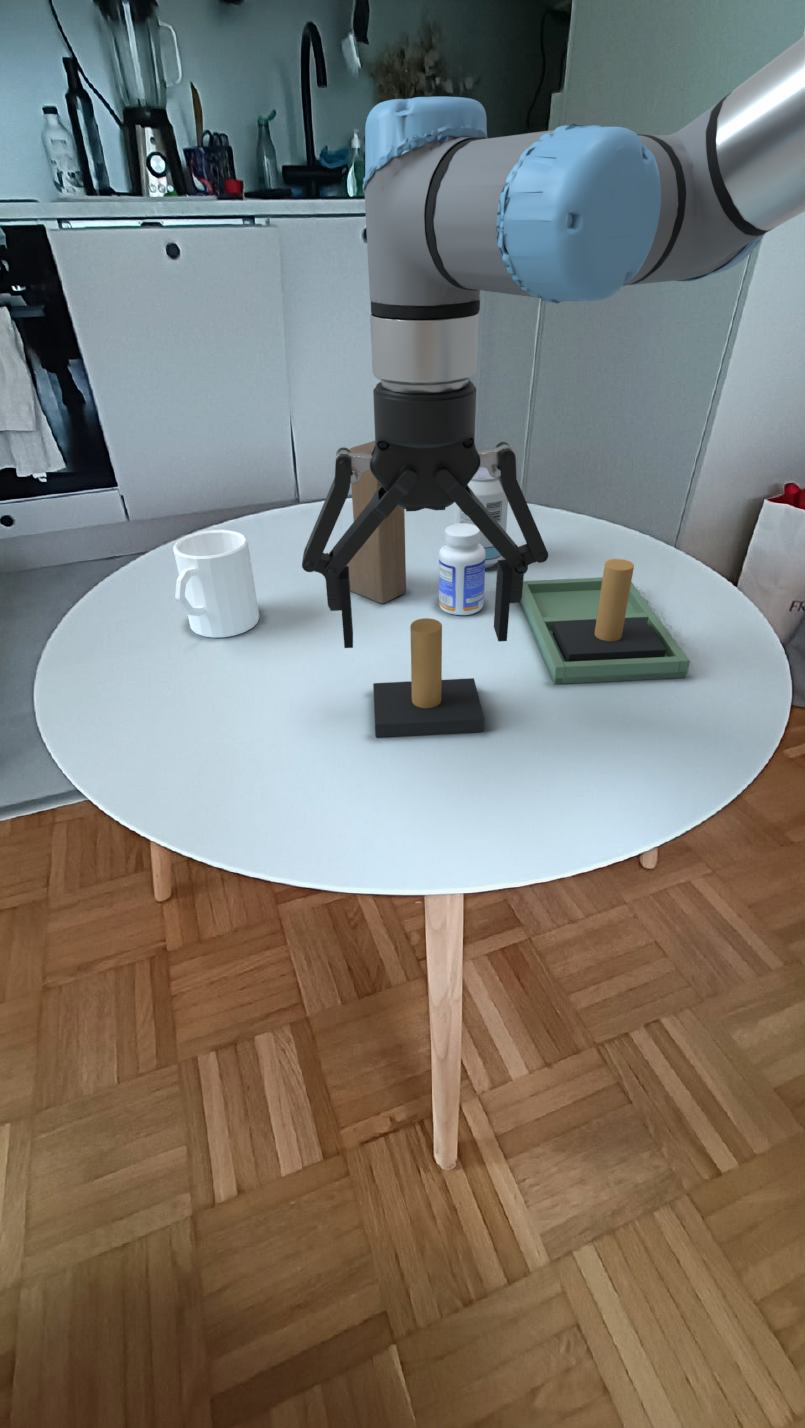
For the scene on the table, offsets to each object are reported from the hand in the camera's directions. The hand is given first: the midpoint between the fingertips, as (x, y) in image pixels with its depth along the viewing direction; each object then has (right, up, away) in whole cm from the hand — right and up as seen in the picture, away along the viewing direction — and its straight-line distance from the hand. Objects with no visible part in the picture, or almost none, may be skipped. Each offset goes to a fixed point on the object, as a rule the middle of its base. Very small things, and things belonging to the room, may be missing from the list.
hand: (424, 637), depth 64 cm
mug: (-24, +3, +19) cm, 31 cm away
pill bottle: (+5, +6, +23) cm, 24 cm away
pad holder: (+20, +2, +17) cm, 26 cm away
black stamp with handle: (+20, 0, +12) cm, 23 cm away
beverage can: (+8, +14, +34) cm, 37 cm away
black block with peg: (0, -7, +5) cm, 8 cm away
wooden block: (-6, +9, +27) cm, 29 cm away
